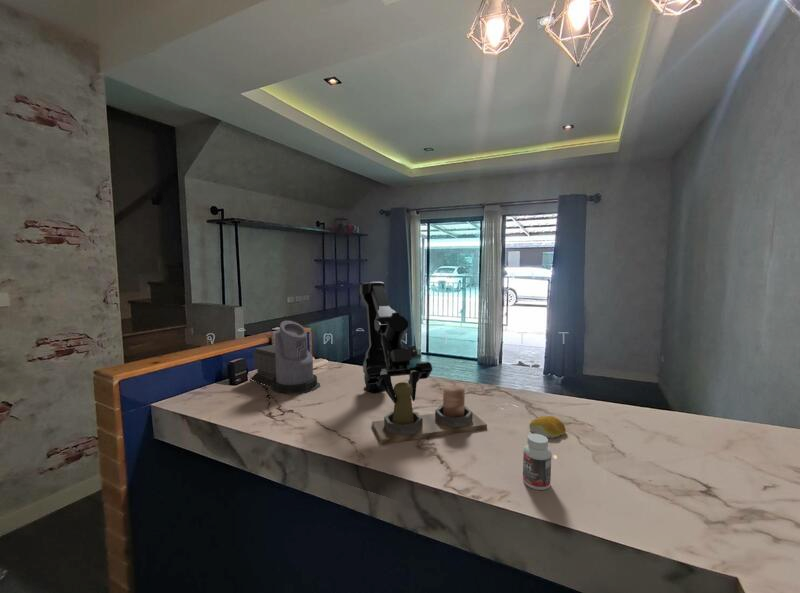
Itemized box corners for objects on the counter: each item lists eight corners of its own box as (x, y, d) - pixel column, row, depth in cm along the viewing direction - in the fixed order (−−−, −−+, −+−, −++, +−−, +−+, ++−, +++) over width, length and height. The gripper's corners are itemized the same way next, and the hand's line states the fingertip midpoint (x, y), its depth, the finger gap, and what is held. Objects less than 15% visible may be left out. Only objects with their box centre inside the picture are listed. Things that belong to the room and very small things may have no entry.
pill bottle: (518, 483, 74) (519, 438, 74) (528, 472, 79) (529, 429, 78) (545, 494, 71) (547, 447, 70) (554, 482, 75) (555, 437, 74)
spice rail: (381, 444, 91) (381, 405, 90) (372, 425, 101) (371, 390, 100) (486, 428, 99) (487, 392, 98) (468, 412, 110) (468, 380, 109)
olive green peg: (406, 416, 102) (406, 378, 101) (418, 424, 97) (418, 385, 96) (388, 421, 99) (387, 382, 98) (399, 429, 94) (399, 389, 93)
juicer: (328, 385, 135) (327, 321, 133) (294, 398, 122) (291, 327, 120) (278, 371, 152) (276, 314, 150) (243, 382, 139) (241, 319, 137)
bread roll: (570, 433, 97) (571, 419, 97) (550, 442, 92) (551, 427, 92) (543, 422, 104) (544, 408, 103) (523, 429, 99) (524, 415, 99)
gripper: (365, 337, 97) (375, 391, 87) (430, 333, 102) (445, 384, 93) (360, 358, 105) (368, 410, 96) (420, 353, 111) (434, 402, 101)
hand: (404, 401), depth 96 cm, fingers closed on olive green peg, 5 cm apart
